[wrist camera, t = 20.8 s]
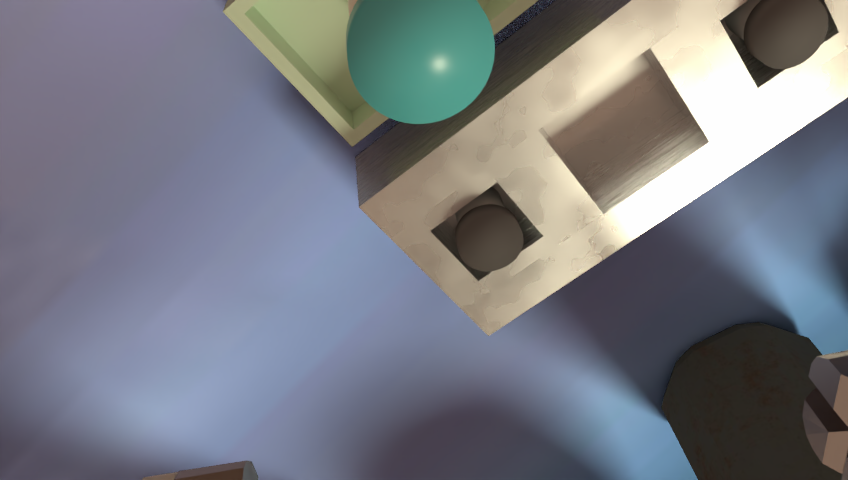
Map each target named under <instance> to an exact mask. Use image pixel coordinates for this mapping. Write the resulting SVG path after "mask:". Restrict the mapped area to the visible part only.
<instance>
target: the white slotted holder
mask: <svg viewBox="0 0 848 480" xmlns="http://www.w3.org/2000/svg"><path fill="white" fill-rule="evenodd" d="M746 1H748V0H556V1H554V2H553V3H552V4H551V5H549V6H548V7H547V8H545V9H544V10H543V11H542V12H540V13H539V14H538V15H536V16H535V17H534V18H533V19H531V20H530V21H529V22H527V23H526V24H525V25H524V26H522V27H521V28H520V29H519V30H517V31H516V32H515V33H513V34H512V35H511V36H510V37H508V38H507V39H506V40H504V41H503V42H502V43H501V44H499V45H498V46H497V47H496V48H495V56H494V63H493V67H492V71H491V73H490V76H489V79H488V81H487V83H486V84H485V86H484V88H483V89H482V91H481V92H480V94H479V95H478V96H477V97H476V98H475V100H474V101H473V102H472V103H471V104H469V105H468V106H467V107H466V108H465V109H463V110H462V111H460V112H459V113H457V114H455V115H453V116H451V117H449V118H447V119H444V120H441V121H437V122H433V123H426V124H411V123H404V122H400V123H398V124H397V125H396V126H394V127H393V128H392V129H391V130H389V131H388V132H387V133H386V134H384V135H383V136H382V137H380V138H379V139H378V140H377V141H375V142H374V143H373V144H371V145H370V146H369V147H368V148H366V149H365V150H364V151H363V152H361V153H360V154H359V155H357V156H356V157H355V161H356V174H357V187H358V200H359V208H360V209H361V210H362V211H363V212H364V213H365V214H366V215H367V216H368V217H369V218H370V219H371V220H372V221H373V222H374V223H375V224H376V225H377V226H378V227H379V228H380V229H381V230H382V231H384V232H385V233H386V234H387V235H388V236H389V237H390V238H391V239H392V240H393V241H394V242H395V243H396V244H397V245H398V246H399V247H400V248H401V249H402V250H403V251H404V252H405V253H406V254H407V255H408V256H409V257H410V258H411V259H412V260H413V261H414V262H415V263H416V264H417V265H418V266H419V267H420V268H421V269H422V270H423V271H424V272H425V273H426V274H427V275H428V276H429V277H430V278H431V279H432V280H433V281H434V282H435V283H436V284H437V285H438V286H439V287H440V288H441V289H442V290H443V291H444V292H445V293H446V294H447V295H448V296H449V297H450V298H451V299H452V300H453V301H454V302H455V303H456V304H457V305H458V306H459V307H460V308H461V309H462V310H463V311H464V312H465V313H466V314H467V315H468V316H469V317H470V318H471V319H472V320H473V321H474V322H475V323H476V324H477V325H478V326H479V327H480V328H481V329H482V330H483V331H484V332H485V333H486V334H487V335H488V336H489V335H491V334H492V333H494V332H495V331H497V330H498V329H500V328H501V327H503V326H504V325H506V324H507V323H509V322H510V321H512V320H513V319H515V318H516V317H518V316H519V315H521V314H522V313H524V312H525V311H527V310H528V309H530V308H531V307H533V306H534V305H536V304H537V303H539V302H540V301H542V300H543V299H545V298H546V297H548V296H549V295H551V294H552V293H554V292H555V291H557V290H558V289H560V288H561V287H563V286H564V285H566V284H567V283H569V282H571V281H572V280H574V279H575V278H577V277H578V276H580V275H581V274H583V273H584V272H586V271H587V270H589V269H590V268H592V267H593V266H595V265H596V264H598V263H599V262H601V261H602V260H604V259H605V258H607V257H608V256H610V255H611V254H613V253H614V252H616V251H617V250H619V249H620V248H622V247H623V246H625V245H626V244H628V243H629V242H631V241H632V240H634V239H635V238H637V237H638V236H640V235H641V234H643V233H644V232H646V231H647V230H649V229H650V228H652V227H653V226H655V225H656V224H658V223H659V222H661V221H662V220H664V219H665V218H667V217H668V216H670V215H671V214H673V213H674V212H676V211H677V210H679V209H680V208H682V207H683V206H685V205H686V204H688V203H689V202H691V201H692V200H694V199H695V198H697V197H698V196H700V195H701V194H703V193H704V192H706V191H707V190H709V189H710V188H712V187H713V186H715V185H716V184H718V183H719V182H721V181H722V180H724V179H725V178H727V177H729V176H730V175H732V174H733V173H735V172H736V171H738V170H739V169H741V168H742V167H744V166H745V165H747V164H748V163H750V162H751V161H753V160H754V159H756V158H757V157H759V156H760V155H762V154H763V153H765V152H766V151H768V150H769V149H771V148H772V147H774V146H775V145H777V144H778V143H780V142H781V141H783V140H784V139H786V138H787V137H789V136H790V135H792V134H793V133H795V132H796V131H798V130H799V129H801V128H802V127H804V126H805V125H807V124H808V123H810V122H811V121H813V120H814V119H816V118H817V117H819V116H820V115H822V114H823V113H825V112H826V111H828V110H829V109H831V108H832V107H834V106H835V105H837V104H838V103H840V102H841V101H843V100H844V99H846V98H847V97H848V0H818V1H820V2H821V3H822V4H823V6H824V7H825V9H826V11H827V15H828V29H827V33H826V36H825V38H824V40H823V42H822V44H821V46H820V47H819V48H818V50H817V51H816V52H815V53H814V54H813V55H812V56H811V57H810V58H809V59H807V60H806V61H805V62H803V63H801V64H799V65H797V66H795V67H792V68H788V69H774V68H771V67H769V66H767V65H765V64H764V63H762V62H761V61H759V60H758V59H757V58H755V57H754V56H753V55H751V54H750V53H749V51H748V50H747V48H746V46H745V43H744V40H743V39H741V38H740V37H739V36H737V35H736V34H734V33H733V32H731V31H730V30H729V29H728V27H727V25H726V23H725V18H724V17H726V16H727V15H728V14H730V13H731V12H733V11H734V10H735V9H737V8H738V7H739V6H741V5H742V4H744V3H745V2H746ZM490 187H493V188H495V189H496V190H497V191H498V192H499V194H500V196H501V198H502V201H503V203H504V206H505V208H507V209H509V210H510V211H511V212H512V213H513V214H514V215H515V217H516V219H517V221H518V223H519V226H520V228H521V231H522V233H523V247H522V250H521V252H520V254H519V255H518V257H517V258H516V259H515V260H514V261H513V262H512V263H510V264H509V265H507V266H506V267H504V268H501V269H499V270H495V271H480V270H476V269H473V268H471V267H470V266H468V265H467V264H466V263H464V261H463V260H462V259H461V257H460V254H459V251H458V248H457V244H456V240H455V230H456V226H457V224H458V223H457V220H456V216H455V213H456V212H457V211H458V210H460V209H461V208H462V207H464V206H465V205H467V204H468V203H469V202H471V201H472V200H474V199H475V198H476V197H478V196H479V195H480V194H482V193H483V192H485V191H486V190H487V189H489V188H490Z"/></svg>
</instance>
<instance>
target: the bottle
mask: <svg viewBox="0 0 848 480" xmlns="http://www.w3.org/2000/svg"><path fill="white" fill-rule="evenodd" d="M821 355H822V354H821V353H820V351H819V350H818V349H817V348H816V346H815V345H814V344H813V343H812V342H811V340H810V339H809V338H807V337H804V336H801V335H798V334H795V333H792V332H789V331H785V330H782V329H779V328H776V327H773V326H770V325H767V324H763V323H759V322H756V323H747V324H739V325H734V326H732V327H730V328H728V329H726V330H724V331H722V332H720V333H718V334H716V335H713V336H711V337H709V338H707V339H705V340H703V341H701V342H699V343H697V344H695V345H693V346H691V347H690V348H689V349H688V350H687V351H686V352H685V353H684V354H683V355H682V356H681V357H680V358H679V360H678V361H677V362H676V363H675V366H674V369H673V372H672V375H671V378H670V380H669V383H668V386H667V389H666V392H665V394H664V398H663V403H662V407H661V408H662V410H663V412H664V414H665V416H666V418H667V420H668V422H669V424H670V426H671V428H672V430H673V431H674V433H675V435H676V437H677V439H678V441H679V443H680V445H681V447H682V449H683V451H684V453H685V455H686V457H687V459H688V461H689V463H690V465H691V467H692V469H693V471H694V472H695V474H696V476H697V478H698V480H841V476H842V474H841V473H839V472H837V471H835V470H834V469H832V468H830V467H828V466H826V465H824V464H823V463H822V462H821V461H820V459H819V458H818V456H817V455H816V453H815V452H814V450H813V449H812V447H811V444H810V442H809V440H808V438H807V436H806V432H805V427H804V422H803V417H802V415H803V407H804V399H805V398H806V397H807V396H808V395H809V394H810V393H811V392H812V391H813V390H814V389H815V388H816V386H815V385H814V383H813V382H812V381H811V379H810V378H809V372H810V367H811V363H812V362H813V361H814V359H815V358H816V357H817V356H821Z"/></svg>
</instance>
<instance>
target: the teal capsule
mask: <svg viewBox="0 0 848 480" xmlns="http://www.w3.org/2000/svg"><path fill="white" fill-rule="evenodd" d="M347 1H348V10H349V20H348V24H347V31H346V48H347V60H348V67H349V71H350V75H351V78H352V80H353V83H354V85H355V87H356V89H357V90H358V92H359V94H360V95H361V96H362V97H363V99H364V100H365V101H366V102H367V103H368V104H369V105H370V106H371V107H372V108H374V109H375V110H376V111H378V112H379V113H381V114H383V115H384V116H386V117H388V118H391V119H393V120H396V121H400V122H404V123H411V124H426V123H433V122H437V121H441V120H444V119H447V118H449V117H451V116H453V115H455V114H457V113H459V112H460V111H462V110H463V109H465V108H466V107H467V106H468V105H469V104H471V103H472V102H473V101H474V100H475V98H476V97H477V96H478V95H479V94H480V92H481V91H482V89H483V88H484V86H485V84H486V83H487V81H488V79H489V76H490V73H491V71H492V67H493V63H494V56H495V41H494V35H493V31H492V27H491V24H490V22H489V20H488V18H487V15H486V14H485V12H484V11H483V9H482V8H481V6H480V4H479V3H478V1H477V0H347Z"/></svg>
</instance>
